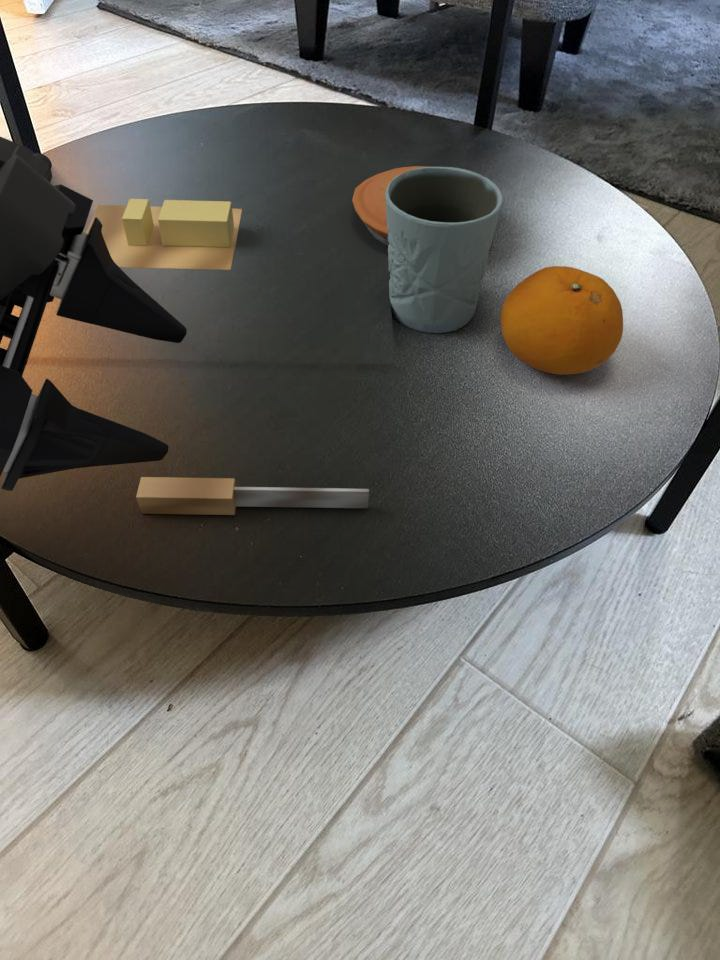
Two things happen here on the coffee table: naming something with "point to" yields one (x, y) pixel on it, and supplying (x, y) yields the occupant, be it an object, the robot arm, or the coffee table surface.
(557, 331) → the fruit
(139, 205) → the butter pat
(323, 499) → the chisel
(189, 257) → the cutting board
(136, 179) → the coffee table surface
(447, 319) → the green ceramic cup
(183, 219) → the butter stick
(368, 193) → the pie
